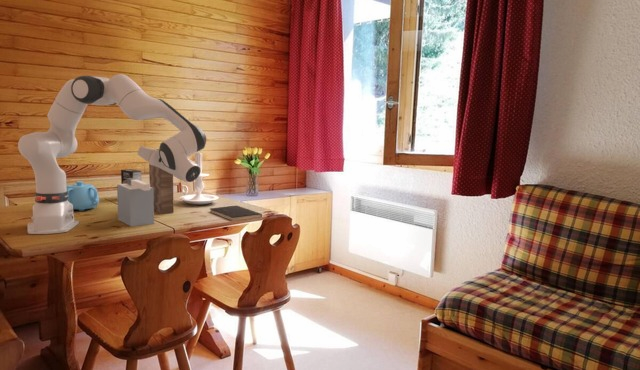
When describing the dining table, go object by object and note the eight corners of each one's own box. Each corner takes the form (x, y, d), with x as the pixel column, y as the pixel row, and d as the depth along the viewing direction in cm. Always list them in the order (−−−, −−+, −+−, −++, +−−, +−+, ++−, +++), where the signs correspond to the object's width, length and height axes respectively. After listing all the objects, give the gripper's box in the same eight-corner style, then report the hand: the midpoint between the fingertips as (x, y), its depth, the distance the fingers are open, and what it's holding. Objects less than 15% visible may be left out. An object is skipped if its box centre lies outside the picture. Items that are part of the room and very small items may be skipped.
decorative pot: (60, 213, 220) (58, 184, 217) (63, 206, 234) (61, 179, 232) (98, 211, 226) (97, 183, 224) (99, 205, 241) (98, 178, 239)
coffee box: (121, 199, 258) (120, 169, 256) (130, 197, 264) (130, 168, 261) (132, 200, 254) (132, 171, 251) (142, 199, 259) (141, 170, 257)
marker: (150, 190, 197) (150, 184, 196) (144, 190, 195) (144, 184, 194) (133, 183, 211) (132, 178, 211) (127, 184, 210) (127, 178, 209)
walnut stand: (173, 212, 228) (172, 159, 224) (161, 214, 224) (160, 160, 220) (161, 207, 239) (160, 156, 235) (150, 209, 235) (149, 157, 231)
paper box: (154, 223, 206) (153, 187, 203) (130, 226, 199) (129, 189, 197) (140, 216, 218) (139, 182, 215) (118, 219, 211) (117, 184, 209)
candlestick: (196, 197, 270) (196, 148, 266) (226, 203, 256) (226, 152, 251) (166, 202, 254) (165, 150, 250) (196, 208, 239) (195, 154, 235)
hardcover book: (232, 222, 216) (232, 217, 216) (209, 212, 233) (209, 208, 233) (261, 218, 226) (262, 213, 226) (238, 209, 244) (238, 205, 243)
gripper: (194, 159, 198) (175, 149, 206) (152, 148, 181) (134, 138, 189) (188, 173, 198) (170, 163, 206) (146, 164, 182) (129, 153, 190)
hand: (153, 151), depth 198 cm, fingers open, 8 cm apart
